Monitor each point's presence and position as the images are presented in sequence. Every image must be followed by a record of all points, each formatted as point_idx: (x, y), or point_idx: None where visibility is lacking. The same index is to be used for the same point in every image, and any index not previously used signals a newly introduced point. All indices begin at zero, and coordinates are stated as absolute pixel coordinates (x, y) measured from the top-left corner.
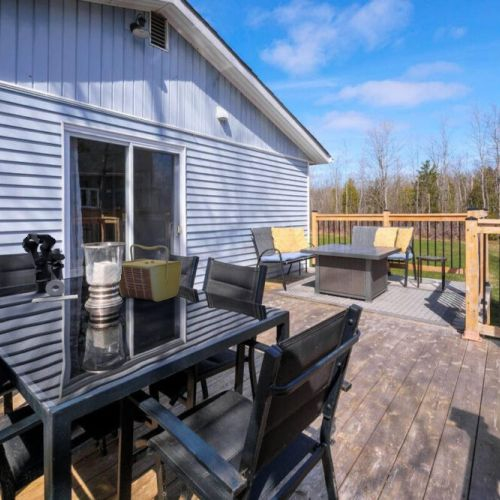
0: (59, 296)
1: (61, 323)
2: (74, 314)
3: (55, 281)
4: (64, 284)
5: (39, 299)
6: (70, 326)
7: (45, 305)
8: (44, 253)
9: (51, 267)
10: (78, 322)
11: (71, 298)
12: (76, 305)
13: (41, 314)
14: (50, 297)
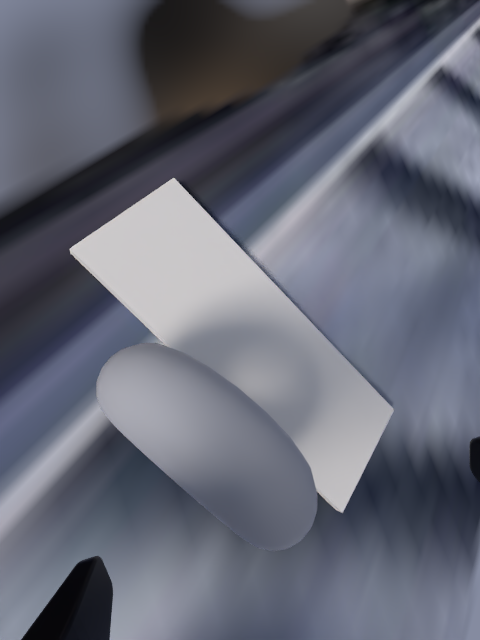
0: None
1: (457, 52)
2: (395, 50)
3: (264, 415)
4: (131, 349)
5: (332, 433)
6: (456, 18)
7: (376, 270)
8: None
9: None
10: (431, 8)
11: (207, 215)
12: (308, 101)
13: (450, 173)
14: None
